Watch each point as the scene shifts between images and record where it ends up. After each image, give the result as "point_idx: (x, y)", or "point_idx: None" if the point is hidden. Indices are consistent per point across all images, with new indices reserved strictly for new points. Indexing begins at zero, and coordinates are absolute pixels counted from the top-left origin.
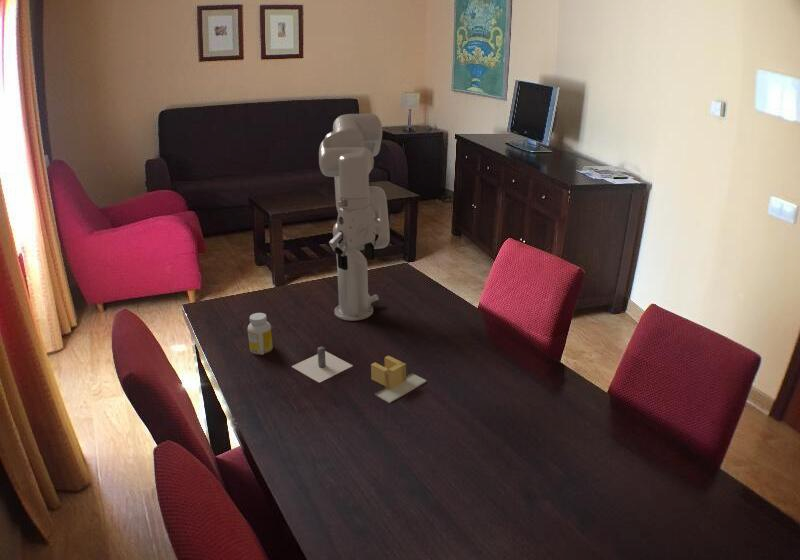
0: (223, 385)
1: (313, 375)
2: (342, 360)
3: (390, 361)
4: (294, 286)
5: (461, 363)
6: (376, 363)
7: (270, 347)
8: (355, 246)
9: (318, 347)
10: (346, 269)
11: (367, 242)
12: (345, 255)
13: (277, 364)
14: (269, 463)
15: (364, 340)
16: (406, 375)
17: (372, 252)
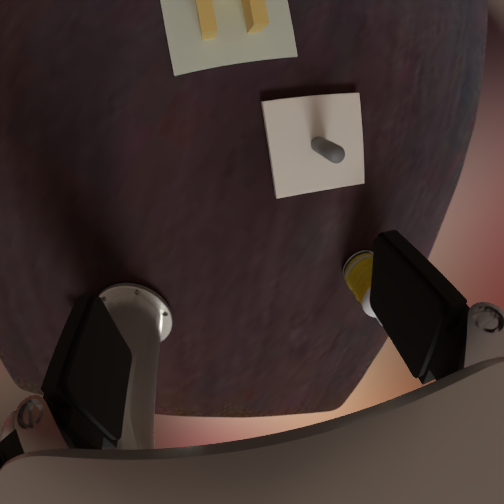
0: (448, 206)
1: (353, 123)
2: (269, 137)
3: (213, 10)
4: (191, 413)
5: (49, 11)
6: (254, 17)
7: (360, 259)
8: (459, 386)
9: (338, 162)
10: (391, 230)
11: (138, 466)
12: (451, 319)
13: (367, 213)
14: (481, 10)
15: (165, 201)
16: (178, 7)
17: (75, 343)
